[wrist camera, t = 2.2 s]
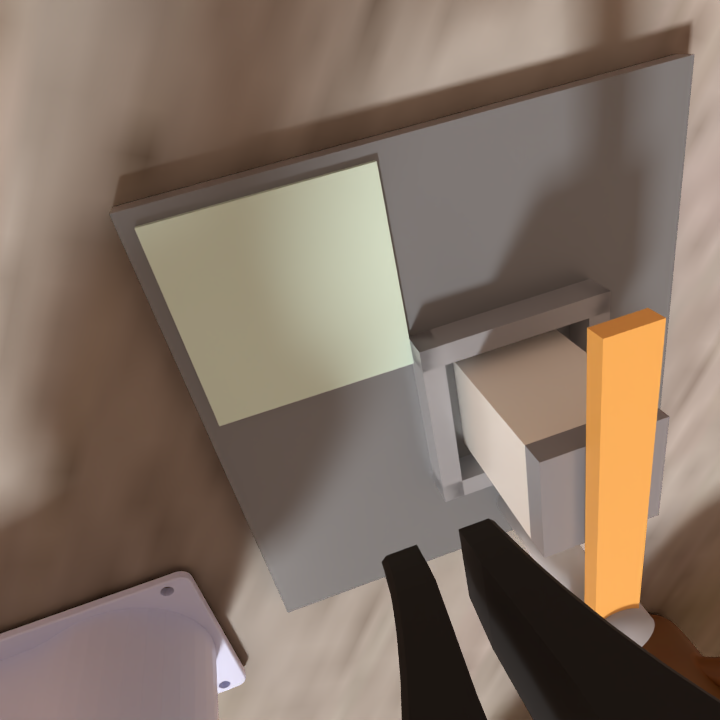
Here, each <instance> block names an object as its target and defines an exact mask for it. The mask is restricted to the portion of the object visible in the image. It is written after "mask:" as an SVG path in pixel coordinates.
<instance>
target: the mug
mask: <svg viewBox="0 0 720 720" xmlns="http://www.w3.org/2000/svg"><path fill="white" fill-rule="evenodd" d="M649 615H650V616H651V617H652V618H653V620H654V623H655V626H654V631H653V633H652V635H651V637H650V638H649V640H648V641H647V642H646V643H645V644H644V645H643V646H642V647H643V648H644V649H645V650H647V651H648V652H650V653H651V654H652V655H654V656H655V657H657V658H658V659H659V660H661V661H662V662H664V663H665V664H667V665H668V666H669V667H671V668H672V669H674V670H675V671H677V672H678V673H680V674H681V675H683V676H684V677H686V678H687V679H689V680H690V681H692V682H693V683H695V684H696V685H698V686H699V687H701V688H702V689H704V690H705V691H707V692H708V693H710V694H711V695H713V696H715V697H716V698H718V699H719V700H720V657H703V656H702V655H701V654H700V653H699V651H698V650H697V649H696V648H695V646H694V645H693V644H692V643H691V642H690V640H689V639H688V638H687V637H686V636H685V635H684V633H683V632H682V631H681V630H680V629H679V628H678V627H677V626H676V625H675V624H674V623H672V622H671V621H670V620H668V619H666V618H664V617H662V616H659V615H652V614H649Z"/></svg>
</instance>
